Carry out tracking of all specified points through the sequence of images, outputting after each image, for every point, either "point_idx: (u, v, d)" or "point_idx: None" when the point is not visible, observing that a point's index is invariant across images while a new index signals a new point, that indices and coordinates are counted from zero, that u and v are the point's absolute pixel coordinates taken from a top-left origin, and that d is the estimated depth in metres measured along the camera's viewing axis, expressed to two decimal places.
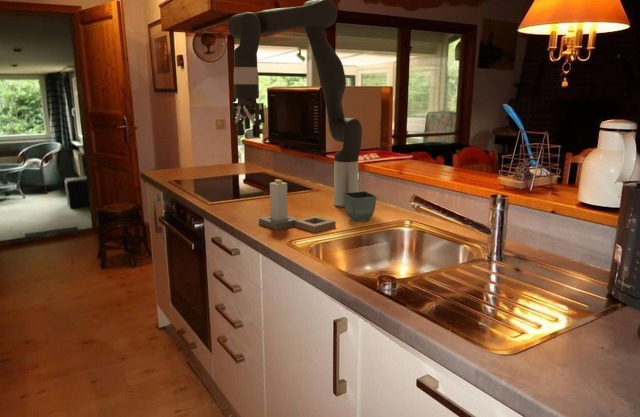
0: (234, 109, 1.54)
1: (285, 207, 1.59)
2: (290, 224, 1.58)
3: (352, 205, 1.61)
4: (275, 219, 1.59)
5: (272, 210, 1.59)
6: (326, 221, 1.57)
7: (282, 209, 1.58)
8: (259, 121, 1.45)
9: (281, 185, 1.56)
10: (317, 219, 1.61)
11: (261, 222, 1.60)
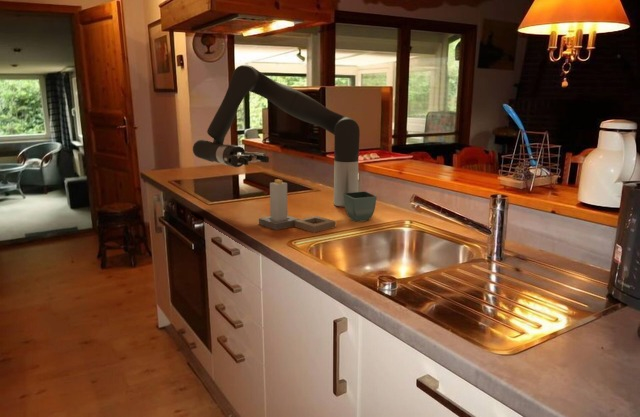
0: (257, 159, 1.74)
1: (285, 207, 1.59)
2: (290, 224, 1.58)
3: (352, 205, 1.61)
4: (275, 219, 1.59)
5: (272, 210, 1.59)
6: (326, 221, 1.57)
7: (282, 209, 1.58)
8: (231, 162, 1.63)
9: (281, 185, 1.56)
10: (317, 219, 1.61)
11: (261, 222, 1.60)
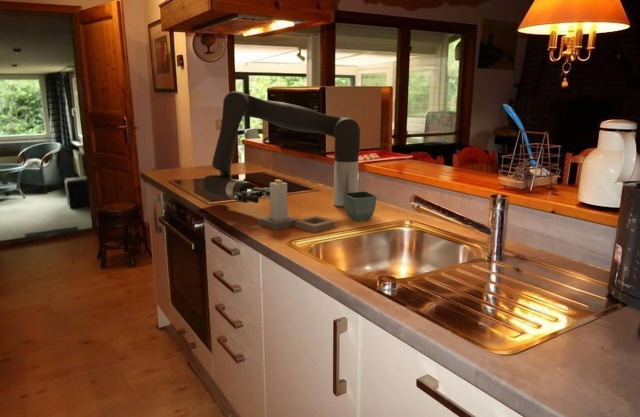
0: (267, 194, 1.73)
1: (285, 207, 1.59)
2: (290, 224, 1.58)
3: (352, 205, 1.61)
4: (275, 219, 1.59)
5: (272, 210, 1.59)
6: (326, 221, 1.57)
7: (282, 209, 1.58)
8: (242, 200, 1.62)
9: (281, 185, 1.56)
10: (317, 219, 1.61)
11: (261, 222, 1.60)
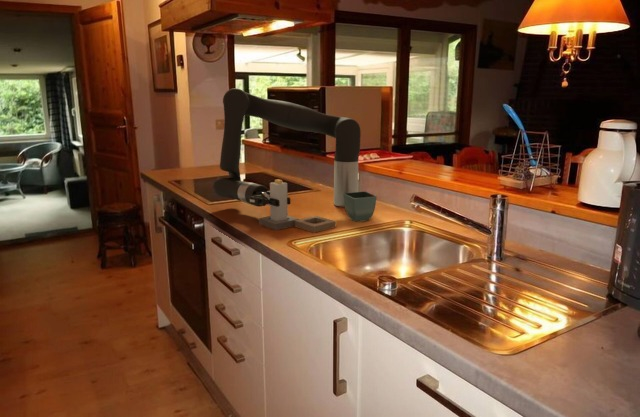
0: None
1: (285, 207, 1.59)
2: (290, 224, 1.58)
3: (352, 205, 1.61)
4: (275, 219, 1.59)
5: (272, 210, 1.59)
6: (326, 221, 1.57)
7: (282, 209, 1.58)
8: (262, 204, 1.57)
9: (281, 185, 1.56)
10: (317, 219, 1.61)
11: (261, 222, 1.60)
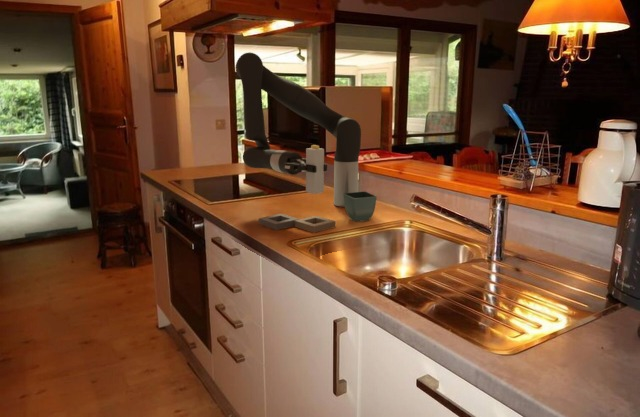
0: None
1: (321, 174, 1.54)
2: (290, 224, 1.58)
3: (352, 205, 1.61)
4: (311, 186, 1.53)
5: (308, 177, 1.54)
6: (326, 221, 1.57)
7: (319, 175, 1.53)
8: (298, 170, 1.52)
9: (318, 150, 1.51)
10: (317, 219, 1.61)
11: (261, 222, 1.60)
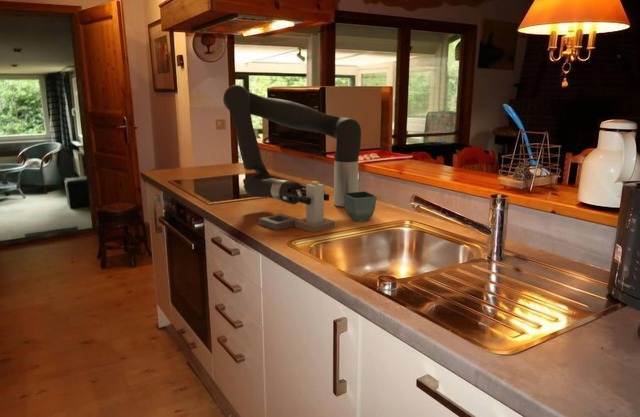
0: None
1: (321, 209, 1.56)
2: (290, 224, 1.58)
3: (352, 205, 1.61)
4: (311, 221, 1.56)
5: (308, 212, 1.57)
6: (326, 221, 1.57)
7: (319, 211, 1.56)
8: (293, 202, 1.54)
9: (318, 187, 1.54)
10: None
11: (261, 222, 1.60)
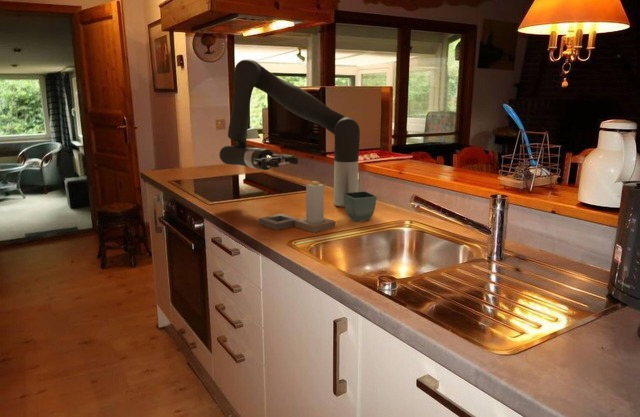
0: (285, 161, 1.74)
1: (321, 209, 1.56)
2: (290, 224, 1.58)
3: (352, 205, 1.61)
4: (311, 221, 1.56)
5: (308, 212, 1.57)
6: (326, 221, 1.57)
7: (319, 211, 1.56)
8: (262, 165, 1.63)
9: (318, 187, 1.54)
10: None
11: (261, 222, 1.60)
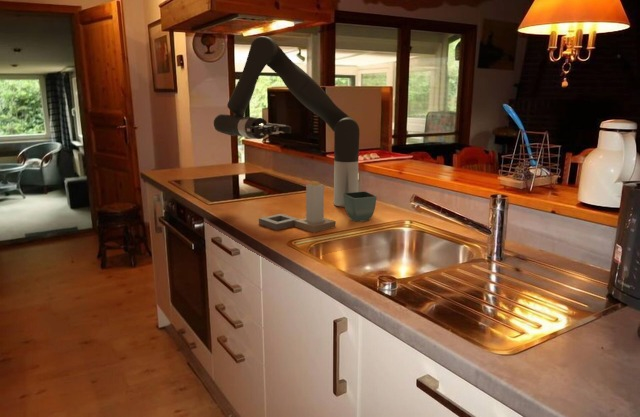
0: (279, 130, 1.73)
1: (321, 209, 1.56)
2: (290, 224, 1.58)
3: (352, 205, 1.61)
4: (311, 221, 1.56)
5: (308, 212, 1.57)
6: (326, 221, 1.57)
7: (319, 211, 1.56)
8: (255, 132, 1.62)
9: (318, 187, 1.54)
10: None
11: (261, 222, 1.60)
